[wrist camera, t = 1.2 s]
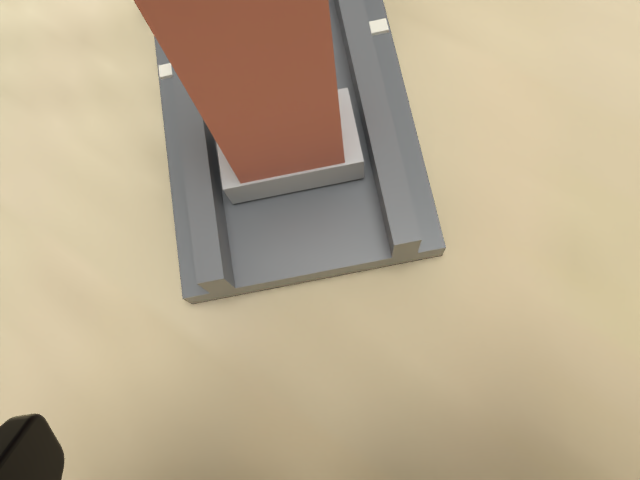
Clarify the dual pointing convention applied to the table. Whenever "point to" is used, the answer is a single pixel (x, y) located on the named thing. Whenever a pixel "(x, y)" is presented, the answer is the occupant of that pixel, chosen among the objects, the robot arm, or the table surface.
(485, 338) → the table surface
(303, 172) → the tall terracotta column
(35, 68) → the table surface
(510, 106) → the table surface
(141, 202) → the table surface
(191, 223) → the track housing
